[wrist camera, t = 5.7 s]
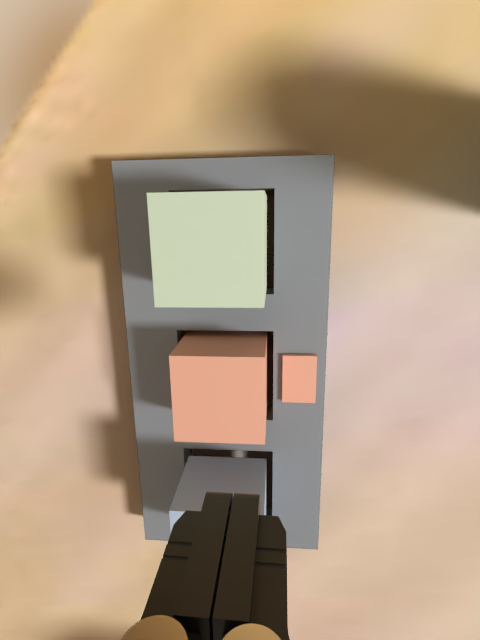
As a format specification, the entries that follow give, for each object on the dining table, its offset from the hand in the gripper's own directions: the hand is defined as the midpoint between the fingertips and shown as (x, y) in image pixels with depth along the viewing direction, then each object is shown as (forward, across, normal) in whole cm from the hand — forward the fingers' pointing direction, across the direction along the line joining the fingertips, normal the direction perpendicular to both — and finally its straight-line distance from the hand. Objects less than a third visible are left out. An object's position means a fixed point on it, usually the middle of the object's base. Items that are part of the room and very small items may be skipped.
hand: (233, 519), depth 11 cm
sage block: (+13, +2, -7) cm, 15 cm away
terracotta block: (+15, +2, +1) cm, 15 cm away
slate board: (+15, +2, +2) cm, 15 cm away
